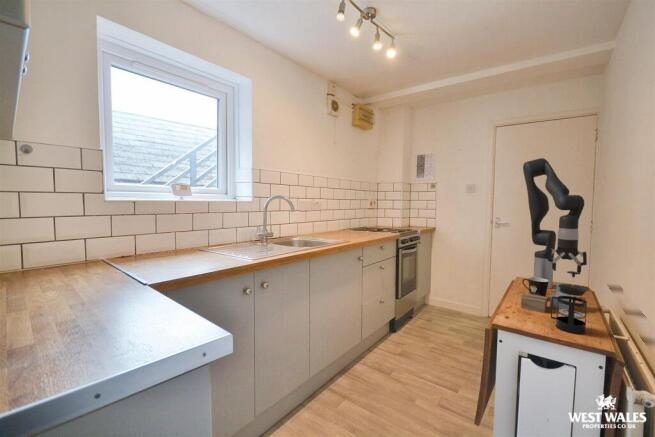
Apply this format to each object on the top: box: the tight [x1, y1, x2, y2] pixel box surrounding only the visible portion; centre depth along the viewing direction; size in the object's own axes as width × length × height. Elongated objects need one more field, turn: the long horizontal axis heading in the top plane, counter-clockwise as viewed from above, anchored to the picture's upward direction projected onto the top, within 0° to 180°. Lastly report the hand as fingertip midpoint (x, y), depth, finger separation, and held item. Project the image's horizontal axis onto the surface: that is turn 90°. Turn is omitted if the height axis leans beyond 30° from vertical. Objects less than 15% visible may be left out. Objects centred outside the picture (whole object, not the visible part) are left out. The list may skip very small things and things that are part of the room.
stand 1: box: [520, 292, 549, 313], centre depth 142 cm, size 9×9×5 cm
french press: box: [550, 270, 589, 335], centre depth 118 cm, size 12×9×23 cm
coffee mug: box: [521, 276, 549, 297], centre depth 156 cm, size 12×9×10 cm
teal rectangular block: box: [555, 281, 572, 300], centre depth 142 cm, size 5×7×6 cm
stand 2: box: [549, 292, 577, 310], centre depth 142 cm, size 9×9×5 cm
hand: (566, 272), depth 141 cm, fingers open, 8 cm apart
